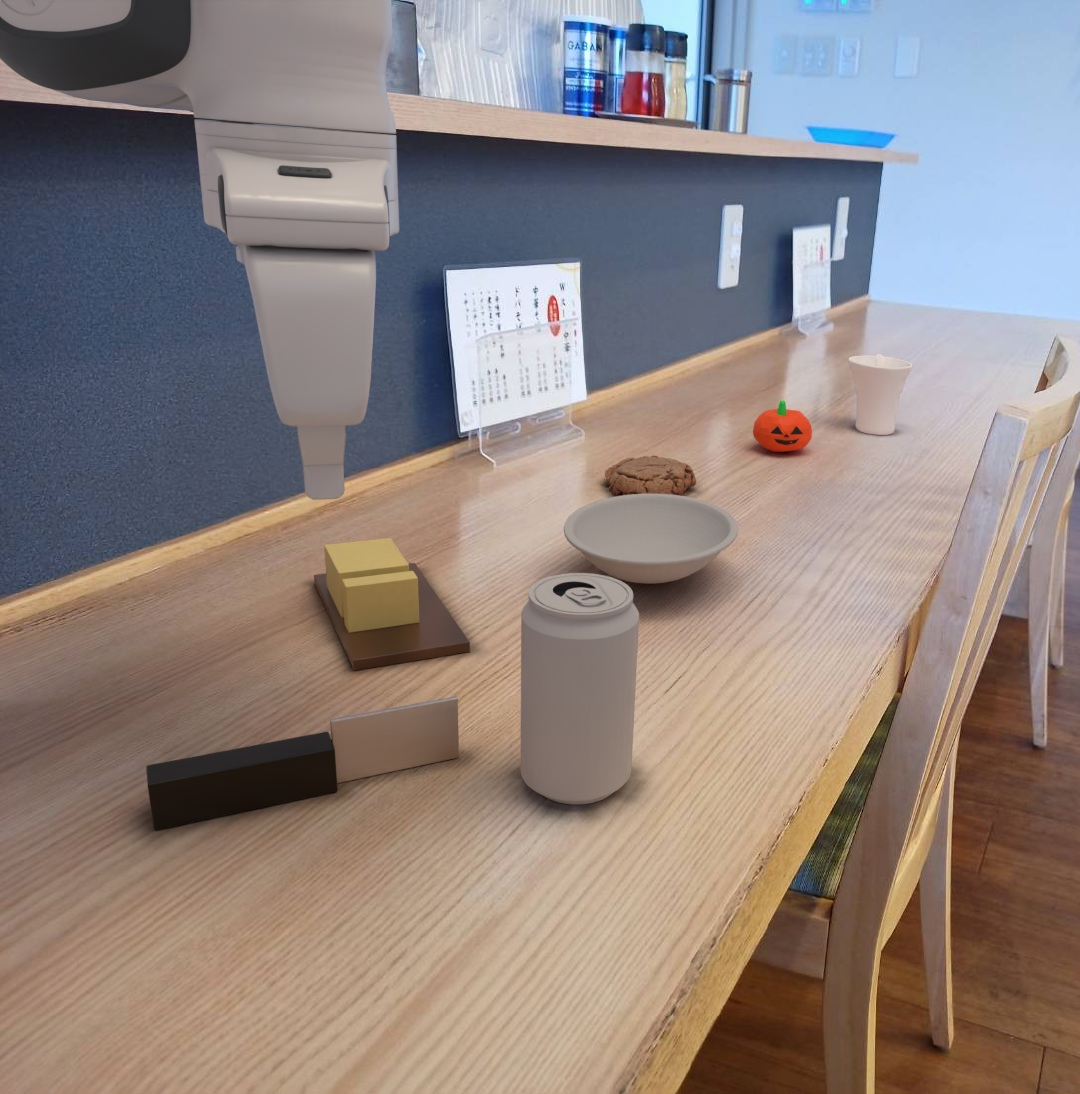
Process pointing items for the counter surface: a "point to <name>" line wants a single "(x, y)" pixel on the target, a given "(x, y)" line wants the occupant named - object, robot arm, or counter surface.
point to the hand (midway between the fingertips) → (320, 467)
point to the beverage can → (578, 686)
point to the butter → (360, 563)
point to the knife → (302, 763)
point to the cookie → (649, 476)
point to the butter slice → (380, 601)
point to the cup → (878, 391)
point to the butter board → (399, 631)
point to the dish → (650, 535)
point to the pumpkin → (782, 429)
